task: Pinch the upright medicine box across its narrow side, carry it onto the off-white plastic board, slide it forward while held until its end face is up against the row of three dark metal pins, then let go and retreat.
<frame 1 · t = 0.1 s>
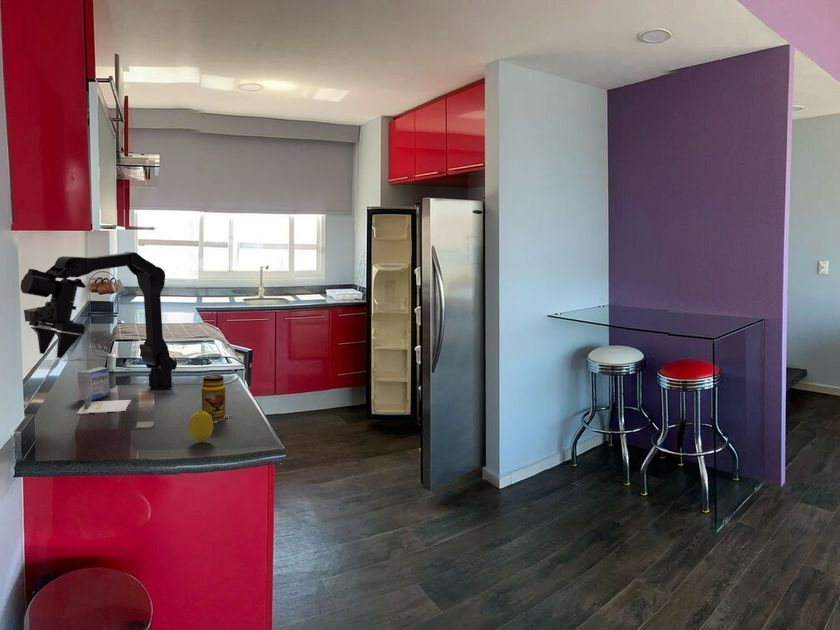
hand: (50, 355, 167), 15 cm above the table, tool pointing down, fingers open, 9 cm apart
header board: (105, 407, 173), on the table
condiment: (211, 419, 165), on the table
lemon: (201, 443, 146), on the table
medicine box: (94, 398, 183), on the table
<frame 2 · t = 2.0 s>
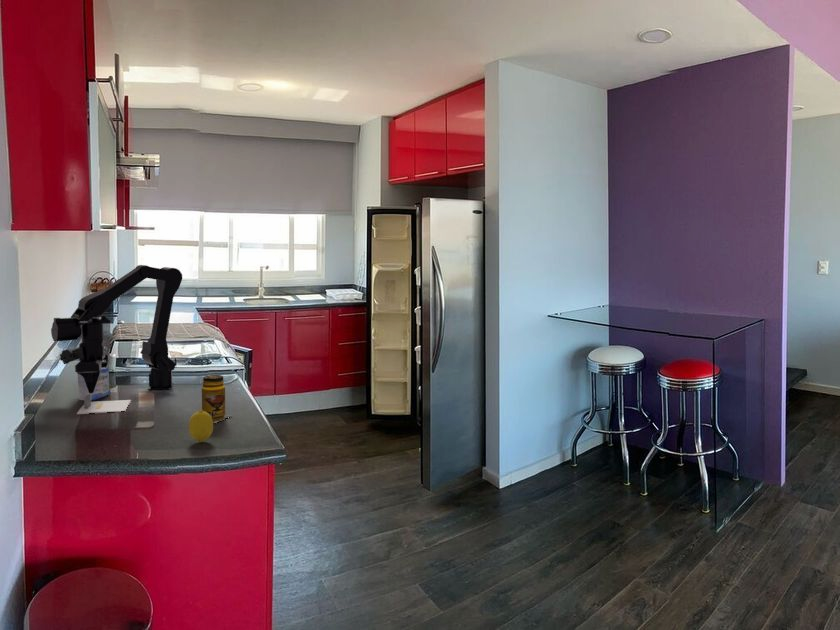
hand: (94, 389, 182), 3 cm above the table, tool pointing down, fingers closed on medicine box, 9 cm apart
medicine box: (94, 398, 183), on the table, touching gripper
everything else where it was.
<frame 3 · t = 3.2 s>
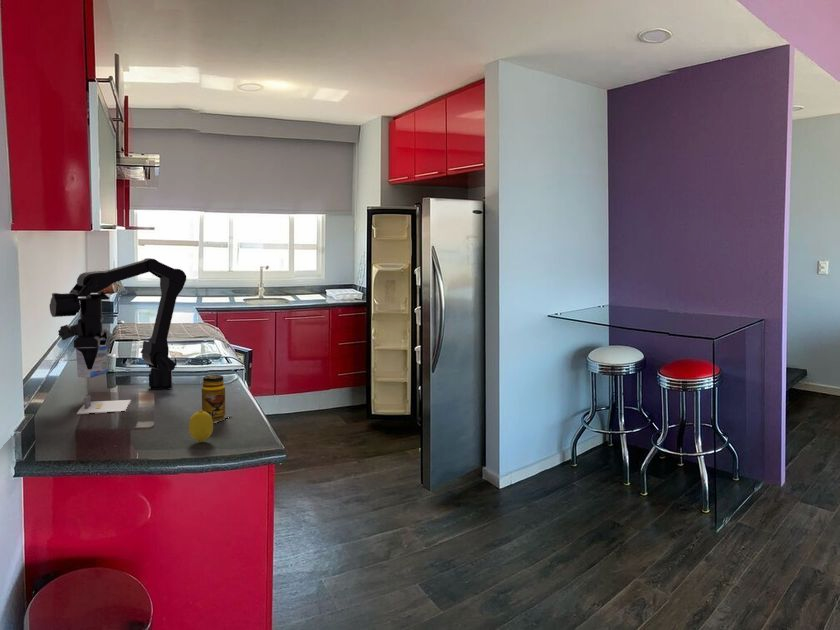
hand: (92, 366, 182), 10 cm above the table, tool pointing down, fingers closed on medicine box, 9 cm apart
medicine box: (92, 375, 182), point 7 cm above the table, touching gripper
everything else where it was.
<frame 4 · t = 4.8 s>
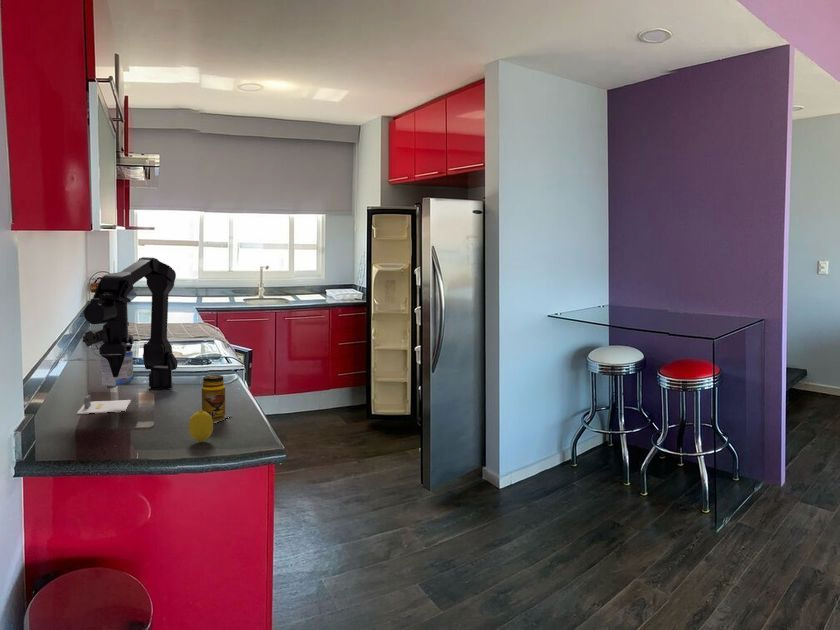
hand: (118, 373, 173), 10 cm above the table, tool pointing down, fingers closed on medicine box, 9 cm apart
medicine box: (118, 383, 173), point 7 cm above the table, touching gripper
everything else where it was.
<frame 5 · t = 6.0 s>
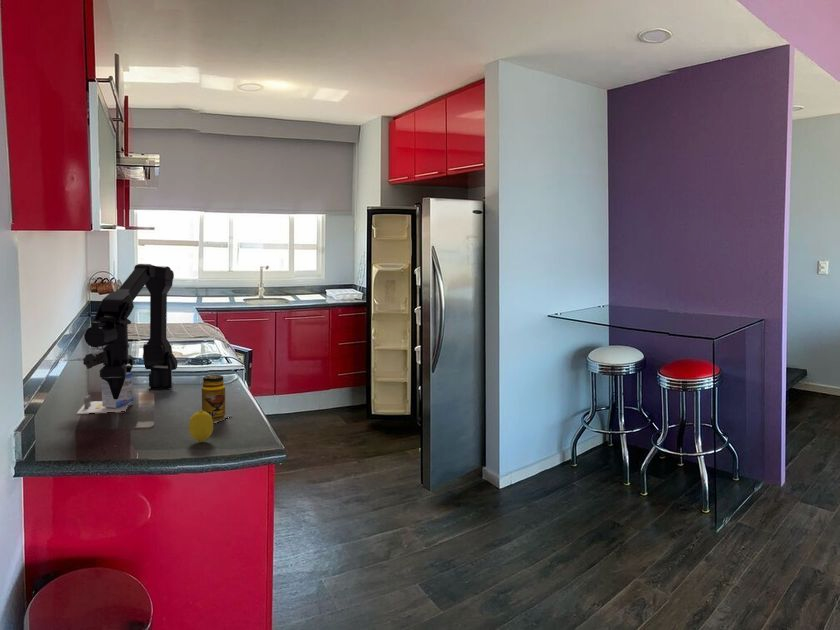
hand: (118, 395, 173), 3 cm above the table, tool pointing down, fingers closed on medicine box, 9 cm apart
medicine box: (118, 404, 174), point 1 cm above the table, touching gripper
everything else where it was.
when the fingers open (3 cm above the table, at t = 7.3 s): medicine box stays where it is, resting on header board.
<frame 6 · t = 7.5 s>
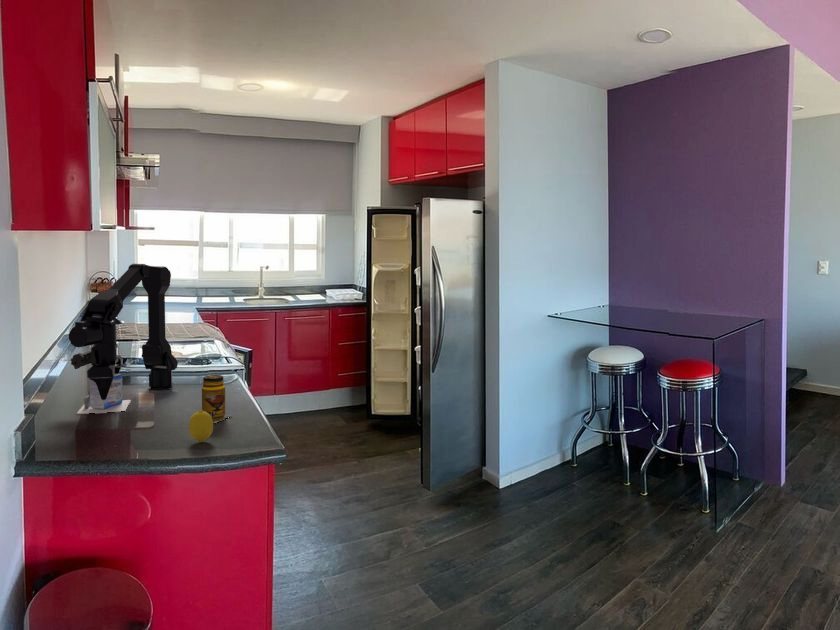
hand: (106, 395, 172), 3 cm above the table, tool pointing down, fingers open, 9 cm apart
medicine box: (106, 406, 173), resting on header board, touching gripper
everything else where it was.
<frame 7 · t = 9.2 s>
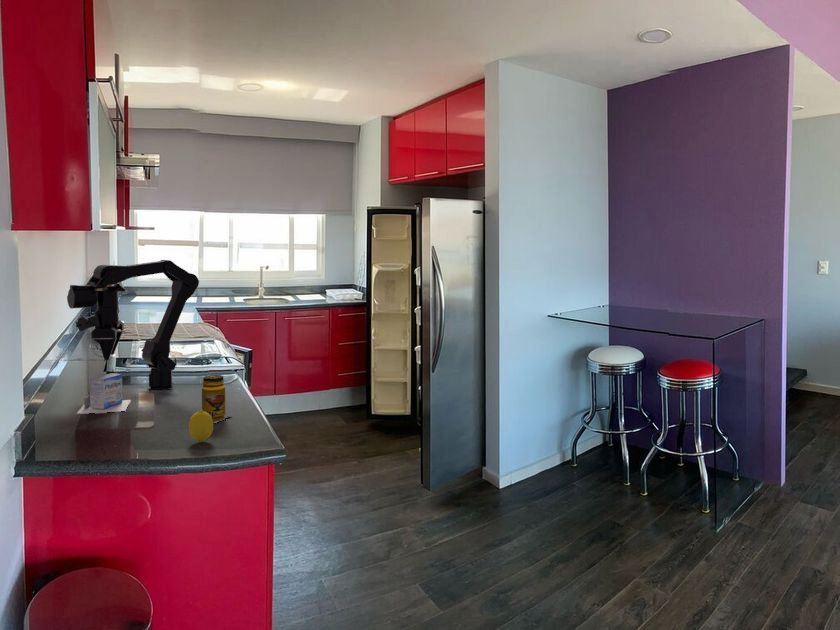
hand: (109, 357, 184), 12 cm above the table, tool pointing down, fingers open, 9 cm apart
medicine box: (106, 406, 173), resting on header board
everything else where it was.
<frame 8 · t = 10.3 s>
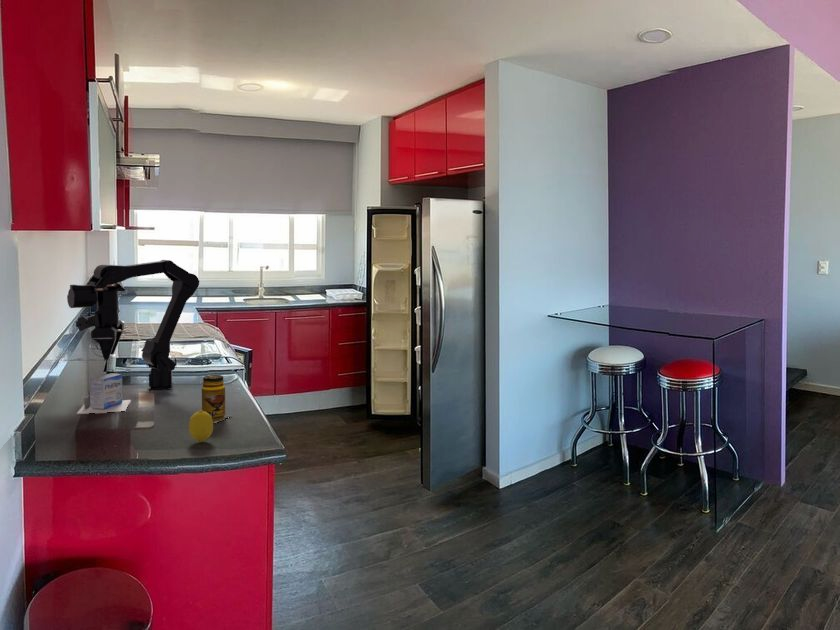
hand: (109, 357, 185), 12 cm above the table, tool pointing down, fingers open, 9 cm apart
nothing on the table moved.
at the end: medicine box 0.1 cm from the target spot, resting on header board; medicine box tilted 1°; the gripper is holding nothing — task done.
